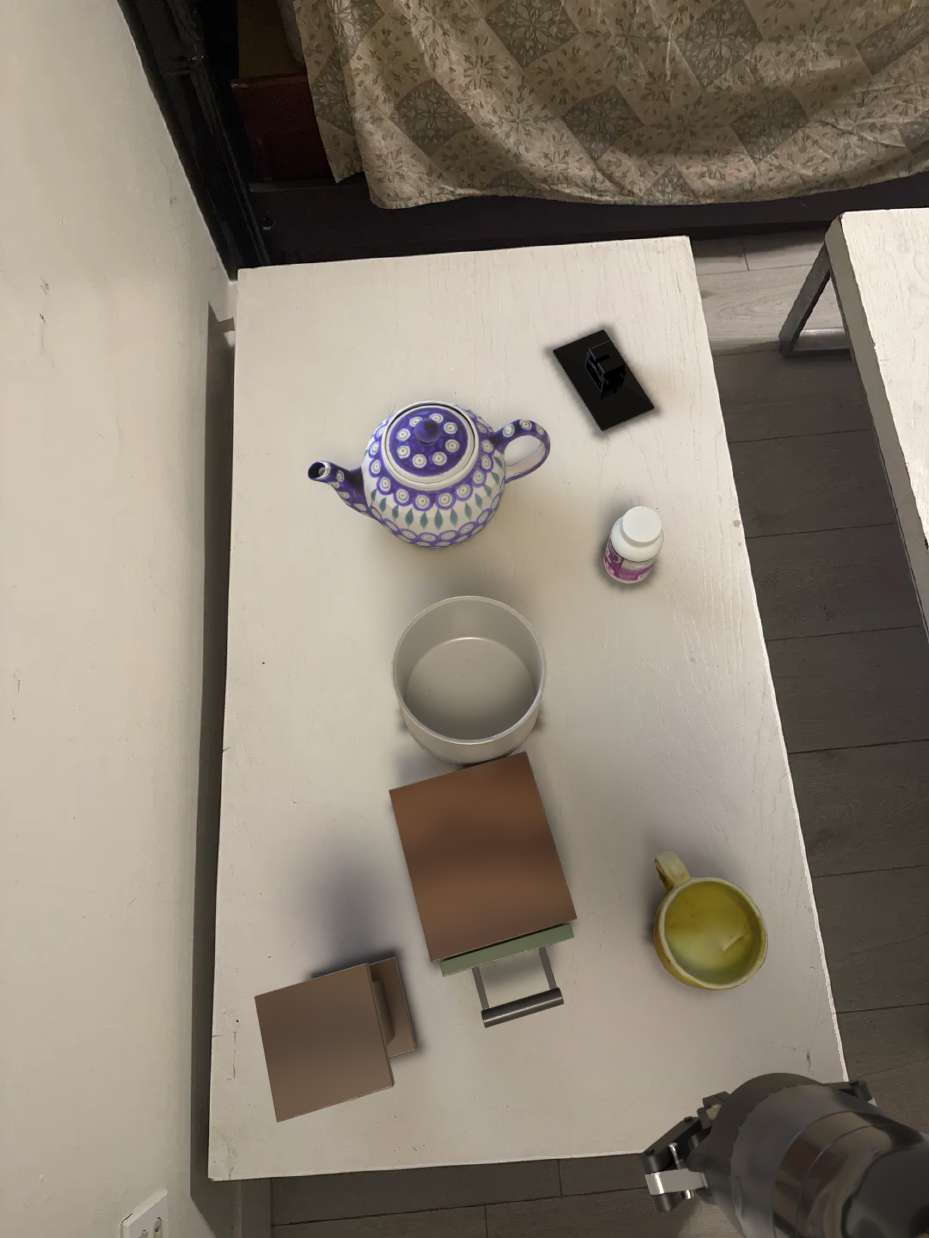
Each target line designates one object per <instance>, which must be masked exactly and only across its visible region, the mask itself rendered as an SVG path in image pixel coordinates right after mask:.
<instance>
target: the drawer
mask: <svg viewBox="0 0 929 1238" xmlns="http://www.w3.org/2000/svg"><path fill="white" fill-rule="evenodd" d="M574 938H575V933H574V930H573V927H572V924H571V923H570V922H569V923H568V922H566V923H561V924H558V925H555V926H551V927H548V928H545V929H541V930H538V931H535V932H531V933H528V934H525V935H521V936H518V937H515V938H511V939H508V940H505V941H501V942H498V943H495V944H491V945H488V946H485V947H481V948H478V949H475V950H471V951H468V952H465V953H461V954H458V955H455V956H451V957H448V958H445V959H442V960H440V962H439V966H440V971H441V975H442V977H443V978H444V977H445V978H446V977H448V976H451V975H452V976H453V975H455V974H458V973H462V972H465V971H468V970H471V971H472V975H473V979H474V982H475V986H476V990H477V994H478V997H479V1001H480V1005H481V1010H480V1015H481V1019H482V1022H483V1023H482V1024H483V1026H484V1027H483V1028H485V1029H488V1028H492V1027H495V1026H497V1025H501V1024H504V1023H507V1022H511V1021H514V1020H517V1019H520V1018H523V1017H526V1016H527V1017H528V1016H530V1015H533V1014H536V1013H540V1012H544V1011H546V1010H550V1009H553V1008H557V1007H559V1006H563V1005H564V1004H565V1000H564V997H563V994H562V990H561V988H560V987H559V986H558V985H557V981H556V979H555V975H554V972H553V968H552V965H551V961H550V958H549V954H548V951H547V948H546V947H548V946H551V945H555V944H558V943H561V942H564V941H567V940H571V939H574ZM535 950H538V952H539V956H540V960H541V963H542V967H543V971H544V973H545V977H546V980H547V984H548V988H549V989H546V990H544V991H541V992H538V993H537V992H536V993H535V994H531V995H528V996H525V997H522V998H518V999H515V1000H511V1001H508V1002H505V1003H502V1004H498V1005H496V1006H492V1007H490V1004H489V1001H488V997H487V993H486V989H485V986H484V982H483V977H482V974H481V971H480V967H481V966H485V965H488V964H491V963H495V962H497V961H502V960H504V959H507V958H511V957H514V956H518V955H521V954H525V953H528V952H531V951H535Z"/></svg>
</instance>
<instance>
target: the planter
mask: <svg viewBox="0 0 929 1238" xmlns="http://www.w3.org/2000/svg"><path fill="white" fill-rule="evenodd" d="M545 653H546V652H545V648H544V646H543V643H542V641H541V639H540V636H539V635H538V633H537V631H536V629H534V627H533V626H532V625H531V623H530V622H529V621H528V620H527V618H525V617H524V616H523V615H522V614H521V613H520V612H518V611H517V610H515V609H514V608H513V607H511V606H509V605H508V604H505V603H504V602H501V601H499V600H496V599H494V598H492V597H491V598H490V597H485V596H480V595H458V596H452V597H449V598H444V599H442V600H440V601H437V602H434V603H433V604H431V605H429V606H428V607H425V608H424V609H422V610H421V611H420V612H419V613H418V614H416V615H415V616H414V617H413V618H412V619H411V620H410V621H409V622H408V623H407V625H406V626H405V627H404V629H403V630H402V632H401V633H400V636H399V637H398V639H397V641H396V644H395V647H394V650H393V653H392V657H391V659H392V660H391V670H390V672H391V673H390V676H391V682H392V687H393V691H394V694H395V697H396V700H397V704H398V706H399V708H400V712H401V714H402V717H403V721H404V722H405V723H404V724H405V725H406V728H407V729H408V732H409V733H410V735H411V736H412V738H413V739H414V741H415V742H416V743H417V744H418V745H419V746H420V748H422V749H423V750H424V751H425V752H427V753H428V754H429V755H430V756H432V757H434V758H436V759H437V760H438V761H441V762H444V763H446V764H449V765H453V766H459V767H462V769H465V768H468V767H472V766H475V765H479V764H483V763H486V762H490V761H493V760H497V759H500V758H504V757H507V756H511V755H512V754H513V753H514V752H515V751H517V750H518V749H519V748H520V747H521V746H522V745H523V744H524V742H525V741H526V740H527V739H528V737H529V736H530V734H531V733H532V731H533V729H534V726H535V725H536V722H537V718H538V715H539V711H540V708H541V707H540V706H541V703H542V699H543V694H544V690H545V687H546V684H547V683H546V682H547V671H548V670H547V669H548V668H547V659H546V654H545Z"/></svg>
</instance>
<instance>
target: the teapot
mask: <svg viewBox="0 0 929 1238" xmlns="http://www.w3.org/2000/svg"><path fill="white" fill-rule="evenodd" d="M524 436H531V437H533V438H535V439H537V440H538V441H539V442H540V443H539V445H538V447H537V449H536V450H535V451H534V452H532V454H531V455H530V456H529V457H527V458H525V459H524V460H521V461H519V462H516V463H514V464H511V465H506V460H505V451H506V449H507V447H508V446H509V444H510V443H511V442H512V441H514V440H517V439H518V438H520V437H524ZM550 453H551V438H550V435H549V433H548V431H547V430H546V429H545V428H544V427H543V426H541V425H540V424H538V423H537V422H536V421H533V420H531V419H523V418H522V419H516V420H513V421H511V422H510V423H508V424H506V425H504V426H503V427H502V428H500V429H499V430H497V431H494V429H493V428H492V427H491V425H489V424H488V423H487V422H486V421H485V420H484V418H482V416H480V415H479V414H477V413H476V412H475V411H473V410H472V409H469V408H467V407H465V406H462V405H459V404H456V403H452V402H449V401H443V400H433V399H432V400H420V401H418V402H414V403H410V404H409V405H406V406H405V407H403V408H400V409H398V410H397V411H395V412H393V413H392V414H391V415H389V416H388V417H387V418H386V419H384V420H383V421H382V422H381V423H379V424H378V425H377V427H376V428H375V430H374V431H373V432H372V435H371V437H370V439H369V441H368V443H367V446H366V449H365V452H364V456H363V460H362V462H361V465H359V467H357V468H354V469H346V468H344V467H342V466H340V465H338V464H336V463H334V462H331V461H327V460H319V461H318V460H317V461H315V462H313V463H311V465H310V466H309V467H308V469H307V478H308V479H309V480H310V481H314V482H318V483H323V484H327V485H329V486H330V487H331V488H332V489H333V490H334V491H335V493H336V494H337V495H338V497H339V498H340V499H341V501H343V503H344V504H345V505H346V506H347V507H349V508H351V509H352V510H354V511H355V512H357V513H359V514H361V515H364V516H366V517H368V518H371V519H373V520H375V521H376V522H378V523H379V524H380V525H382V527H384V529H385V530H386V531H388V532H389V533H390V534H391V535H393V536H395V537H396V538H397V539H399V540H401V541H402V542H403V541H404V542H406V543H407V544H409V545H413V546H416V547H421V548H428V549H429V548H431V549H441V548H448V547H452V546H456V545H460V543H461V544H462V543H463V542H466V541H467V540H469V539H471V538H472V537H474V536H475V535H478V533H480V532H482V530H483V529H484V528H485V527H486V526H487V525H488V524H489V522H490V521H491V520H492V519H493V517H494V516H495V515H496V514H497V511H498V508H499V507H500V503H501V501H502V498H503V496H504V490H505V485H506V484H509V483H511V482H512V481H515V480H519V479H521V478H524V477H525V476H528V475H530V474H531V473H533V472H535V471H536V470H538V469H539V468H541V466H542V465H543V464H545V462H546V460H547V459H548V457H549V455H550Z"/></svg>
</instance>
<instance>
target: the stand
mask: <svg viewBox="0 0 929 1238" xmlns="http://www.w3.org/2000/svg"><path fill="white" fill-rule="evenodd" d="M254 1003H255V1008H256V1015H257V1020H258V1026H259V1032H260V1037H261V1042H262V1049H263V1053H264V1060H265V1065H266V1070H267V1076H268V1082H269V1087H270V1092H271V1098H272V1103H273V1104H272V1105H273V1109H274V1115H275V1120H276V1123H281V1122H284V1121H287V1120H290V1119H295V1118H297V1117H300V1116H304V1115H307V1114H310V1113H313V1112H316V1111H321V1110H322V1109H326V1108H329V1107H332V1106H336V1105H339V1104H342V1103H346V1102H349V1101H352V1100H356V1099H359V1098H361V1097H366V1096H367V1095H368V1096H369V1095H371V1094H374V1093H378V1092H381V1091H384V1090H388V1089H392V1088H393V1087H394V1086H395V1085H396V1082H395V1081H396V1080H395V1077H394V1072H393V1068H392V1063H391V1059H392V1058H394V1057H398V1056H401V1055H404V1054H407V1053H411V1052H414V1051H416V1050H417V1048H418V1044H417V1041H416V1037H415V1033H414V1029H413V1025H412V1020H411V1016H410V1012H409V1007H408V1003H407V999H406V995H405V990H404V986H403V982H402V977H401V974H400V969H399V965H398V961H397V957H396V956H393V957H390V958H385V959H382V960H379V961H376V962H372V963H368V962H364V963H360V964H356V965H353V966H351V967H348V968H344V969H340V970H337V971H334V972H329V973H328V974H324V975H320V976H317V977H314V978H309V979H306V980H304V981H300V982H297V983H294V984H289V985H287V986H284V987H280V988H277V989H274V990H271V991H267V992H264V993H260V994H257V995H254Z"/></svg>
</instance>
